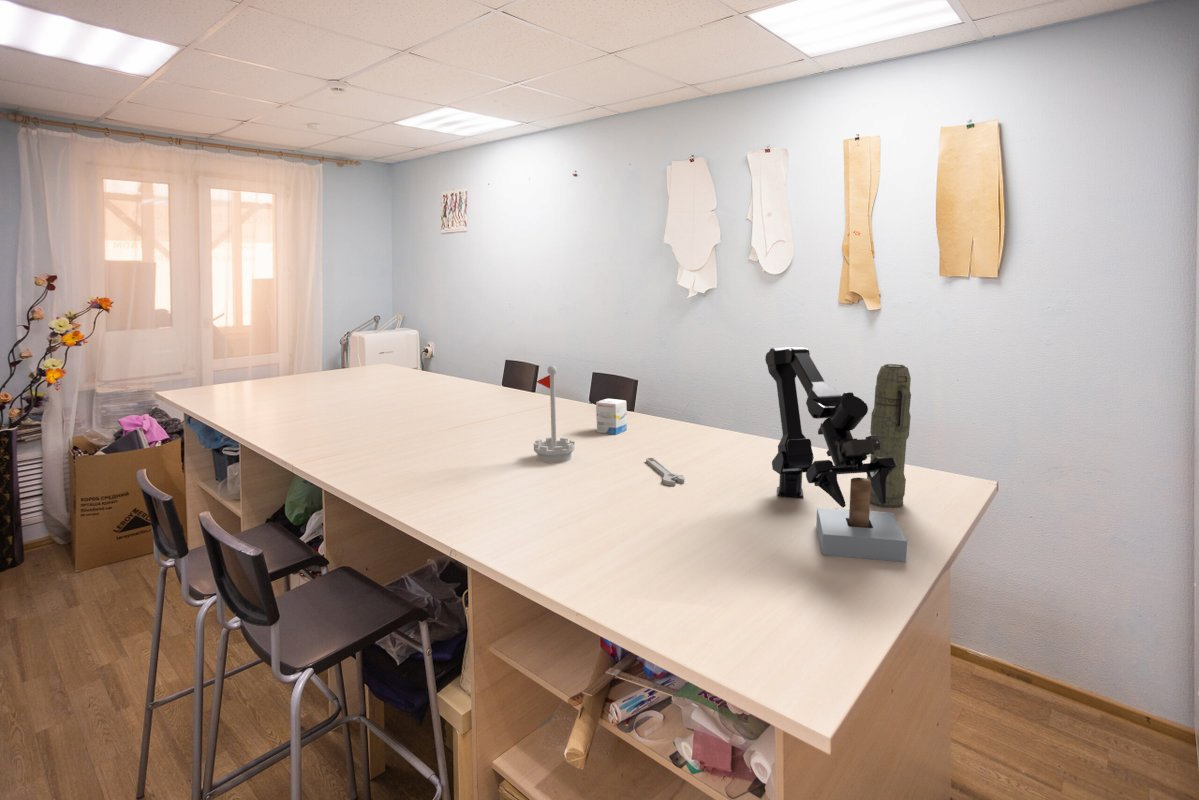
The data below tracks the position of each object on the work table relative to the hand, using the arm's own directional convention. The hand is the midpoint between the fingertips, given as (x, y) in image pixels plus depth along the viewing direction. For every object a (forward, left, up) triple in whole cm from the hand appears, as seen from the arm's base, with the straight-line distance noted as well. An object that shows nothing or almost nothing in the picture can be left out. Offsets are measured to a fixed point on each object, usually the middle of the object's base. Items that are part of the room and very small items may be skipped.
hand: (864, 505), depth 137 cm
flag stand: (-51, -86, -9) cm, 100 cm away
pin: (-1, -1, -8) cm, 8 cm away
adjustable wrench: (-43, -49, -10) cm, 66 cm away
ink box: (-90, -76, -9) cm, 118 cm away
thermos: (-29, +9, -9) cm, 32 cm away
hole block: (-1, -1, -9) cm, 9 cm away
